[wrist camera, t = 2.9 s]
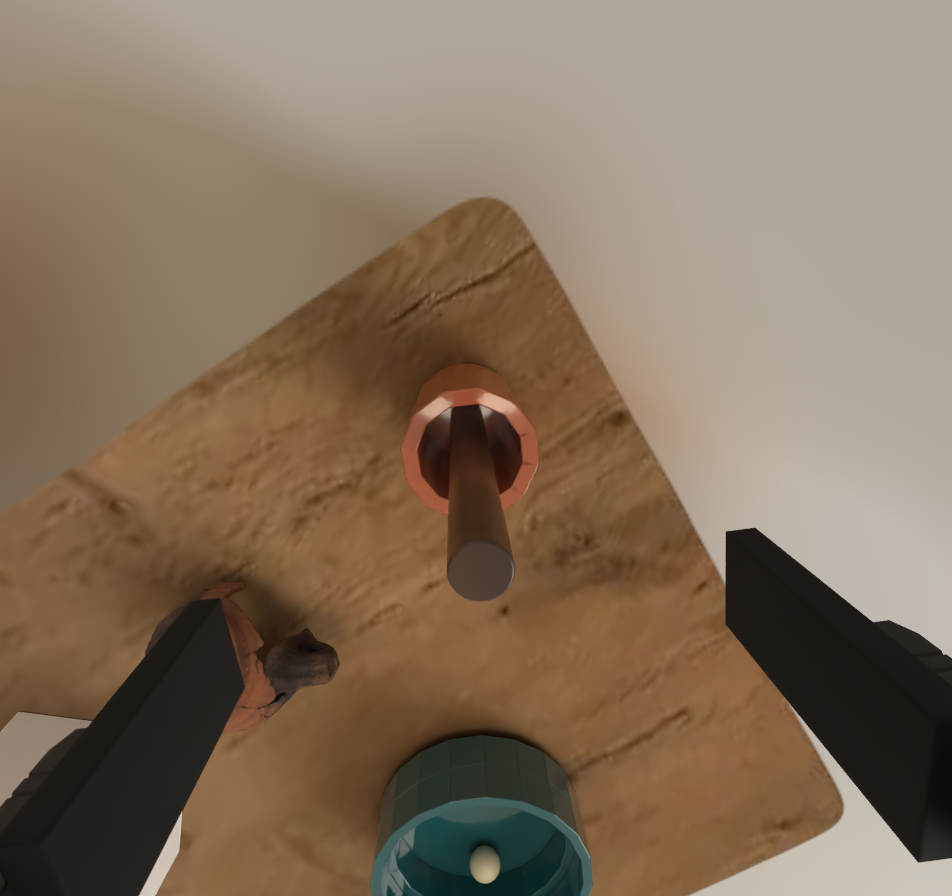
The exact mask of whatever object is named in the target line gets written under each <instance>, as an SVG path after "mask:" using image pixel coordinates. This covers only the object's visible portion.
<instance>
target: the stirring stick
mask: <svg viewBox="0 0 952 896" xmlns="http://www.w3.org/2000/svg"><path fill="white" fill-rule="evenodd" d="M514 575H515V564H514V559H513V555H512V550H511V545H510V541H509V536H508V531H507V527H506V522H505V518H504V513H503V508H502V504H501V499H500V494H499V490H498V485H497V480H496V476H495V471H494V467H493V462H492V457H491V453H490V448H489V443H488V439H487V434H486V429H485V425H484V420H483V416H482V412H481V410H480V408H479V407H478V406H477V405H475V404H474V405H466V406H458V407H455V408H454V409H453V410H452V413H451V425H450V464H449V504H448V544H447V577H448V580H449V583H450V585H451V586H452V588H453V589H454V590H455V591H456V592H457V593H458V594H459V595H461V596H462V597H464V598H466V599H469V600H472V601H488V600H492V599H495V598H497V597H499V596H500V595H502V594H503V593H504V592H505V591H506V590H507V589H508V588H509V586H510V585H511V583H512V581H513V579H514Z"/></svg>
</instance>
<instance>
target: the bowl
mask: <svg viewBox="0 0 952 896" xmlns="http://www.w3.org/2000/svg"><path fill="white" fill-rule="evenodd" d="M480 846H490V847H492V848H493V849H494V850H495V851H496V852H497V854H498V856H499V859H500V871H499V874H498V876H497V877H496V878H495V880H493V881H492V882H490V883H486V884H484V883H480V882H478V881H477V880H476V879H475V878H474V877H473V875H472V873H471V870H470V858H471V855H472V853H473V852H474V851H475V850H476V849H477V848H478V847H480ZM592 886H593V876H592V864H591V856H590V852H589V848H588V844H587V839H586V835H585V831H584V827H583V823H582V818H581V814H580V810H579V806H578V802H577V798H576V793H575V791H574V789H573V787H572V785H571V783H570V781H569V779H568V777H567V775H566V774H565V772H564V770H563V769H562V768H561V767H560V766H558V765H557V764H556V763H555V762H554V761H553V760H552V759H551V758H549V757H548V756H547V755H546V754H545V753H544V752H542V751H540V750H538V749H536V748H533V747H531V746H529V745H527V744H524V743H522V742H520V741H517V740H514V739H509V738H501V737H494V736H487V735H479V736H471V737H464V738H456V739H450V740H447V741H445V742H442V743H440V744H437V745H435V746H433V747H430V748H428V749H425V750H423V751H421V752H420V753H419V754H417V755H416V756H415V757H414V758H412V759H411V760H410V761H409V762H407V763H406V764H405V765H404V766H402V767H401V768H400V769H399V770H398V771H397V773H396V774H395V776H394V777H393V779H392V781H391V782H390V784H389V785H388V787H387V788H386V790H385V792H384V795H383V800H382V805H381V810H380V816H379V822H378V829H377V837H376V844H375V851H374V858H373V865H372V872H371V879H370V890H371V894H372V896H589V895H590V892H591V889H592Z"/></svg>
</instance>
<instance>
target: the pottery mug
mask: <svg viewBox="0 0 952 896" xmlns="http://www.w3.org/2000/svg"><path fill="white" fill-rule="evenodd" d="M245 587H246V583H245V582H228V583H226V584H219V585H217V586H216V587H213V588H211V589H206V590H203V591H202V592H200V593H199V594H197V595H196V596H195V597H193V598H192V599H191V600H190V601H197V600H204V599H212V598H220V599H221V602H222V606H223V609H224V613H225V617H226V620H227V624H228V627H229V631H230V634H231V638H232V642H233V645H234V649H235V652H236V656H237V659H238V663H239V666H240V670H241V674H242V677H243V681H244V684H245V689H244V691H243V693H242V695H241V697H240V699H239V700H238V702H237V704H236V706H235V708H234V710H233V712H232V714H231V716H230V718H229V720H228V722H227V724H226V726H225V728H224V730H223V732H222V733H233V732H239V731H244V730H246V729H249V728H252V727H255V726H257V725H259V724H261V723H263V722H264V721H265V720H267V719H268V718H269V717H271V716H272V715H273V714H274V713H275V712H276V711H277V710H279V709H280V708H281V707H282V705H283V704H284V703H285V702H287V701H288V700H289V699H290V697H291V696H292V695H293V694H294V693H295V692H296V691H297V690H299V689H301V688H304V687H307V686H314V685H320V684H326V683H328V682H330V681H331V680H332V679H333V678H334V676H335V673H336V671H337V669H338V667H339V660H338V655H337V652H336V651H335V650H334V648H333V647H332V646H330V645H328V644H326V643H322V642H320V641H317V640H316V639H315V638H314V636H313V634H312V633H311V632H310V630H309V629H307V628H306V629H304V630H303V631H302V632H301V633H299V634H298V635H296V636H290V637H289V638H283V639H280V640H279V641H277V642H276V643H275V644H274V645H273V646H272V647H270V649H269V650H268V651H267V653H266V655H265V657H264V662H262V661H261V660H260V659H259V658H258V655H257V654H256V652H257V650H259V649H260V648H261V647H262V646H263V645H264V642H263V640H262V638H261V637H260V635H259V634H258V632H257V630H256V629H255V627H254V625H253V624H252V622H251V621H250V620H249V619H248V618H247V617H246V616H245V614H244V613H243V611H242V610H241V609H240V608H239V607H238V606H237V605H236V604H235V603H234V602H233V601H231V600H230V599H229V597H230V596H231V595H232V594H234V593H236V592H238V591H241V590H243V589H245ZM190 601H188V602H187V603H186V604H185V605H184V606H183V607H181V608H179V609H177V610H175V611H173V612H172V613H171V614H170V615H168V616H167V617H166V618H164V619H163V620H162V621H161V622H160V624H159V625H158V626H157V628H156V629H155V631H154V633H153V635H152V639H151V640H150V642H149V644H148V647H147V649H146V652H145V656H146V655H147V654H148V653H149V651H150V650H151V649H152V648H153V646H154V645H155V644H156V643H157V642H158V640H159V639H160V638H161V637H162V635H163V634H164V633H165V632H166V631H167V629H168V628H169V627H170V626H171V624H172V623H173V622H174V621H175V620H176V618H177V617H178V616H179V615H180V613H181V612H182V611H183V610H184V609H185V607H186V606H187V605H188V604H189V602H190Z"/></svg>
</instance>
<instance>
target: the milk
mask: <svg viewBox="0 0 952 896" xmlns="http://www.w3.org/2000/svg"><path fill="white" fill-rule="evenodd" d="M91 722H92V721H87V720H79V719H72V718H64V717H56V716H49V715H41V714H33V713H26V712H17V713H16V715H15V716H14V717H13V718H12V719H11V720H10V721H9V722H8V723H7V725H6V726H5V727H4V728H3V729H2V730H1V731H0V806H1V805H2V804H3V803H4V802H5V800H6V799H7V798H11V796H12V792H13V791H14V790H15V789H16V788H17V786H18V785H19V784H20V783H21V782H22V781H23V780H24V778H28V776H29V773H30V771H31V770H32V769H33V768H34V767H35V766H36V764H37V763H38V762H39V761H40V760H41V759H42V757H43V756H44V755H45V754H46V753H47V752H48V750H50V749H51V748H52V747H54V746H55V745H56V744H57V743H59V742H60V741H61V740H63V739H64V738H65V737H66V736H68V735H69V734H70V733H71V732H73V731H74V730H75V729H80V728H87V727H88V726H89V725H90V723H91ZM181 822H182V812H181V814H180V816H179V818H178V820H177V822H176V824H175V826H174V828H173V830H172V832H171V834H170V836H169V838H168V840H167V842H166V844H165V846H164V848H163V850H162V852H161V854H160V856H159V858H158V860H157V862H156V864H155V866H154V868H153V869H152V871H151V873H150V875H149V877H148V879H147V881H146V883H145V885H144V887H143V889H142V891H141V893H140V895H139V896H155V895H156V893H157V891H158V889H159V887H160V886H161V884H162V882H163V880H164V878H165V876H166V874H167V873H168V871H169V869H170V867H171V865H172V863H173V861H174V860H175V858H176V856H177V854H178V852H179V848H180V835H181Z"/></svg>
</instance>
